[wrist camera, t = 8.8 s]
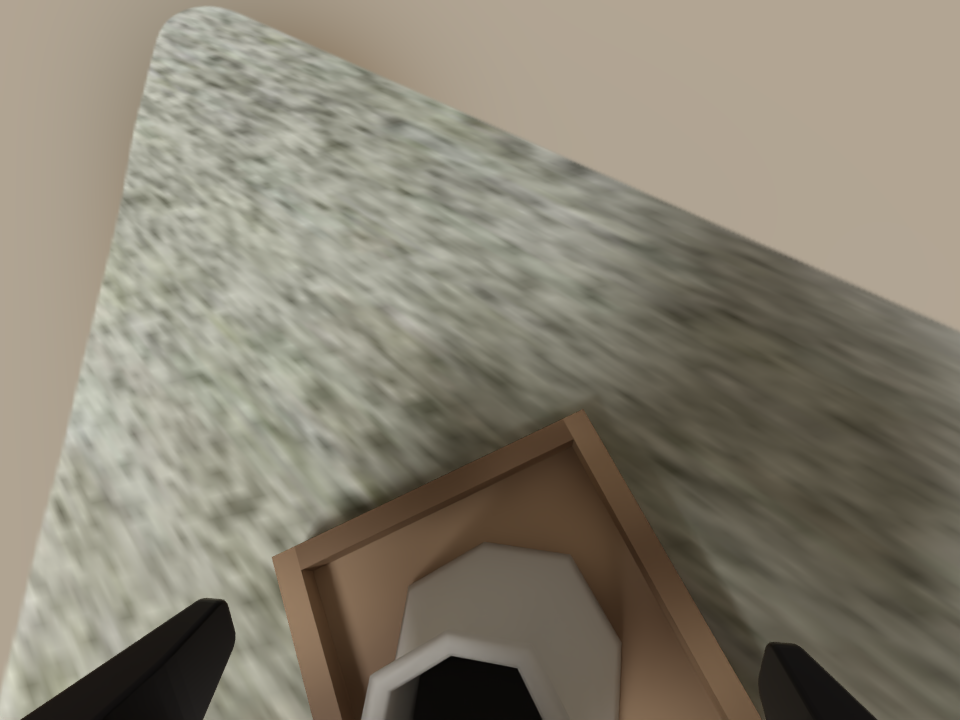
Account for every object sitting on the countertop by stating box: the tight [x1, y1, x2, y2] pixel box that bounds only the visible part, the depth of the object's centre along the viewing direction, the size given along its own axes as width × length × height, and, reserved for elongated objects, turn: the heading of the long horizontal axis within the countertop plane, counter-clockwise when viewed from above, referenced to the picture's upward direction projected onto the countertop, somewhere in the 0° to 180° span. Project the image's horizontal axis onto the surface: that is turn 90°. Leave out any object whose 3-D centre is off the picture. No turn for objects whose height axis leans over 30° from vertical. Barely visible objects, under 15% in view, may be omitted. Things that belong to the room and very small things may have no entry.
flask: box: [361, 542, 622, 720], centre depth 12 cm, size 7×7×10 cm
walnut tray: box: [272, 409, 762, 720], centre depth 16 cm, size 12×12×2 cm
